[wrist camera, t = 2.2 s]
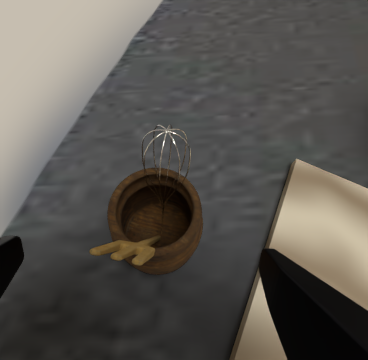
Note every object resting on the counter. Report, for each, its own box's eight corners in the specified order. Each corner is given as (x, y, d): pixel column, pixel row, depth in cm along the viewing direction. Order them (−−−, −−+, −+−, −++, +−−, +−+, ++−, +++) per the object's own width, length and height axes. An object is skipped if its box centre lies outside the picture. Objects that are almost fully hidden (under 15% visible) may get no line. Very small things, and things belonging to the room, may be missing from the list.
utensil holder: (201, 209, 20) (242, 110, 9) (187, 288, 17) (220, 284, 6) (135, 194, 20) (96, 80, 9) (110, 270, 17) (11, 236, 6)
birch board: (456, 569, 12) (480, 592, 11) (211, 416, 14) (214, 424, 13) (443, 229, 20) (456, 226, 19) (291, 164, 22) (296, 158, 21)
